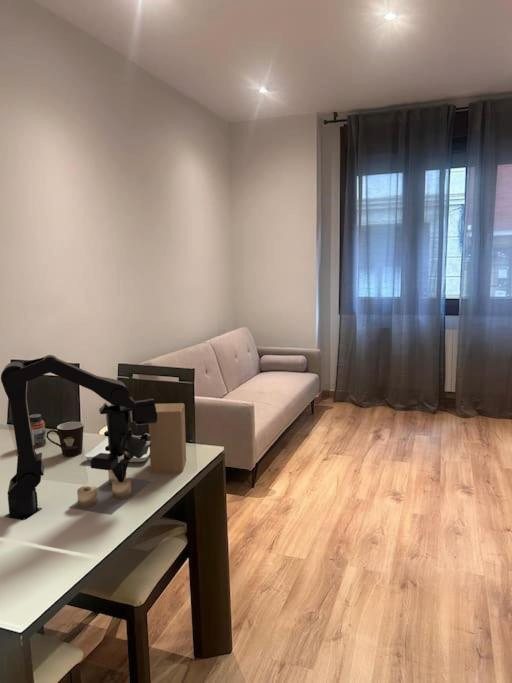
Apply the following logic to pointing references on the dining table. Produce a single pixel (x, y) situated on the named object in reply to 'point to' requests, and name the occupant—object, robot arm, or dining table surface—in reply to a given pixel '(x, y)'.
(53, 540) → the dining table surface
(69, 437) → the coffee mug
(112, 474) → the two dot puck
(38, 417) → the supplement bottle
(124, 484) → the plain puck
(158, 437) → the wooden block
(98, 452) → the salad plate
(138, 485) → the mat
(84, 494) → the one dot puck
